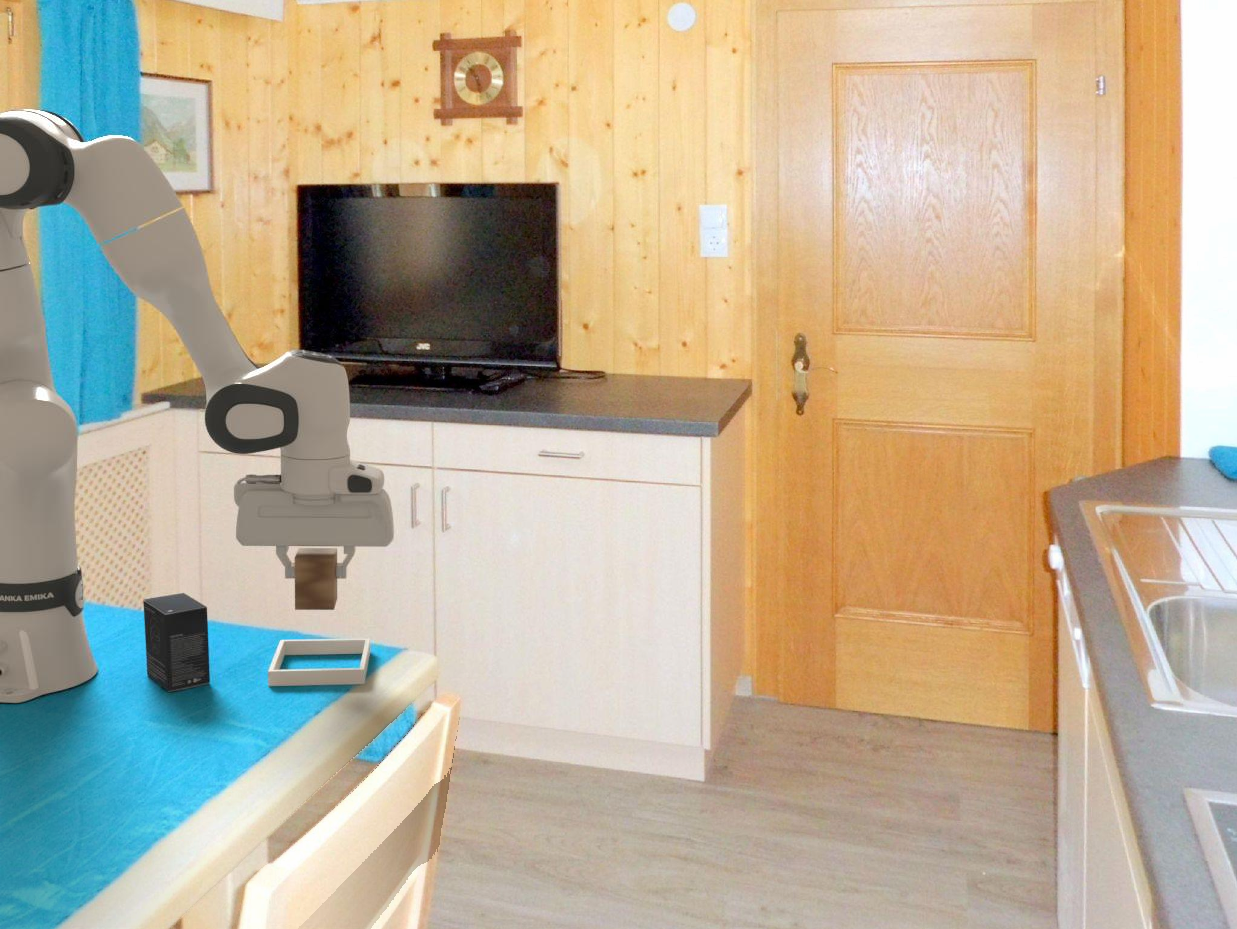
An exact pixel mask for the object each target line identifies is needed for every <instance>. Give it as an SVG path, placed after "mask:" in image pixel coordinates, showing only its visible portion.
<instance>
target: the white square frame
mask: <svg viewBox="0 0 1237 929" xmlns="http://www.w3.org/2000/svg"><path fill="white" fill-rule="evenodd" d="M354 654H355V655H356V654H357V655H361V654H362V655H361V660H360V665H359V667H350V668H348V667H347V668H343V667H342V668H300V669H298V668H295V669H293V668H291V669H288V668H287V669H281V666H282V663H283V661H284V658H285V656H298V655H299V656H306V655H309V656H311V655H354ZM370 656H371V637H370V638H369V637H367V638H366V637H365V638H363V637H362V638H318V639H317V638H316V639H311V638H310V639H305V638H303V639H280V640H279V643H278V645H277V648H276V650H275V652H274V655H273V657H272V660H271V663H270V666H269V668H268V670H267V677H268V678H267V679H268V681H267V684H268V687H289V686H290V687H292V686H296V687H299V686H326V685H327V686H331V685H332V686H333V685H334V686H337V685H338V686H339V685H343V686H344V685H365V683H366V677H367V672H368V666H369V661H370Z"/></svg>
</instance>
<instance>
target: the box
mask: <svg viewBox="0 0 1237 929" xmlns="http://www.w3.org/2000/svg"><path fill="white" fill-rule="evenodd" d="M143 619H144V636H145V637H144V638H145V655H146V674H147V676H148V677H149V678H151V679H152V680H153V681H154V682H156V683H157V684H158V685H159V686H161V687H162V688H163V689H165V690H166V691H167V692H170V693H171V692H175V691H176V692H177V691H181V690H187V689H191V688H197V687H201V686H206V685H209V684H210V683H211V676H210V675H211V672H210V648H209V627H208V626H209V624H208V623H209V622H208V606H206V605H204V604H203V603H201V602H199V601H198V600H197V599H195V598H193V597H191V596H190V595H188V594H186V593H184V592H181V593H176V594H170V595H169V594H168V595H164V596H162V595H161V596H157V597H156V596H155V597H150V598H145V599H143Z"/></svg>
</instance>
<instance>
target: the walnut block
mask: <svg viewBox="0 0 1237 929" xmlns="http://www.w3.org/2000/svg"><path fill="white" fill-rule="evenodd" d="M294 563H295V578H294V610H295V611H297V610H298V611H301V610H302V611H303V610H305V611H312V610H313V611H318V610H319V611H328V610H329V611H333V610H335V608H336V604H337V601H338V579H335V573H336V572H335V565H336V563H338V548H337V547H332V548H331V547H329V548H328V547H319V548H318V547H298V550H297V551H296V554H295V556H294Z"/></svg>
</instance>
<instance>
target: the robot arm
mask: <svg viewBox="0 0 1237 929" xmlns="http://www.w3.org/2000/svg"><path fill="white" fill-rule="evenodd" d="M62 203H63V204H66V205H69V207H72V208H73V209H75V210H76V212H78V214H79V215H80V216H81V217H82V219H83V221H84V222H85V223H86V225H87V226H88V228H89V230H90V232H91V234H92V235H93V237H94V239H95V241H96V244H97V245H98V246H99V245H100V246H99V248H100V250H101V252H102V254H103V256H104V257H105V259H106V261H107V262H108V264H109V265H110V266H111V268H112V269H113V271H114V272H115V273H116V274H117V276H118V277H119V278H120V280H121V281H122V282H123V283H124V284H125V286H126V287H127V288H128V289H129V291H130V292H131V293H132V294H134V295H135V296H136V297H138V298H140V299H141V300H143V301H145V302H146V303H147V304H150V305H151V306H152V307H153V308H155V309H156V310H157V311H159V312H160V313H161V314H162V315H163V316H164V317H165V318H166V319H167V321H168V322H169V324H171V326H172V327H173V329H174V330H175V331H176V334H177V335H178V337H179V339H180V340H181V342H182V344H183V345H184V347H185V349H186V351H187V352H188V354H189V357H191V360H192V362H193V363H194V365H195V367H196V369H197V370H198V372H199V373H200V374H199V375H200V377H201V378H202V381H203V386H204V395H205V396H204V397H205V398H204V400H205V409H204V424H205V428H206V431H207V433H208V435H209V438H211V440H212V441H213V442H214V443H215V444H216V445H217V446H218V447H220V448H221V449H223V450H225V451H227V452H230V453H232V454H237V455H250V454H255V453H261V452H266V451H273V450H276V449H280V474H263V475H262V474H261V475H257V474H252V473H251V474H246V475H245V477H242V478H240V479H238V480H237V481H236V483H235V484H234V486H233V497H234V498H233V500H234V503H235V504H236V506H237V507H238V508H237V516H236V528H235V539H236V541H237V542H239V544H240V545H241V546H243V547H275V554H276V556H277V558H278V560H279V561H280V563H281V564H282V565H283V567H284V578H285V579H289V580H290V579H295V562H292V560H291V559H290V558H289V556H288V554H287V553H288V552H289V548H290V547H343V554H344V555H345V556H344V558H343V560H342V562H337V563H336V565H335V572H336V573H335V579H337V580H339V579H340V580H342V579H347V577H348V566H349V564H350V563H351V561H352V559H353V558H354V556H355V553H356V547H371V548H373V547H375V548H377V547H381V548H382V547H383V548H386V547H388V546H389V545H390V544H392V542H393V540H394V537H395V536H394V535H395V526H394V524H395V523H394V515H393V509H392V503H391V497H390V495H389V493H388V492H387V491H386V490H385V489H384V486H385V474H384V472H383V470H382V469H380V468H377V467H376V466H375V467H374V466H371V465H368V464H365V463H362V462H358V461H355V460H353V459H351V448H350V445H349V441H348V429H349V426H350V421H351V403H350V402H351V400H350V399H351V398H350V387H349V386H350V385H349V380H348V379H349V378H348V374H347V371H346V368H345V367H344V365H343V364H342V363H341V362H340V361H339V360H338V359H336V358H335V357H333V356H331V355H328V354H325V353H322V352H318V351H312V350H307V349H306V350H305V349H291V350H289V351H286V352H285V353H284V354H283V355H282V356H281V357H280V358H278V359H275V361H273V362H271V363H269V364H267V365H265V366H263V367H260V366H259V365H258V364H256V363H255V362H254V361H252V360H251V359H250V358H249V357H248V355H247V354H246V352H245V351H244V349H243V348H242V346H241V344H240V342H239V341H238V339H237V337H236V335H235V334H234V331H233V330H232V328H231V327H230V324H229V322H228V321H227V319H226V317H225V316H224V313H223V312H222V310H221V309H220V307H219V305H218V303H217V300H216V298H215V296H214V293H213V290H212V289H213V288H212V286H211V283H210V278H209V272H208V269H207V268H208V267H207V264H206V263H207V262H206V259H205V256H204V252H203V249H202V246H201V243H200V239H199V237H198V236H197V232H196V230H195V228H194V225H193V223H192V221H191V218H190V216H189V215H188V213H187V211H186V209H185V208H184V206H183V203H182V201H181V200H180V197H178V194H177V193H176V192H175V190H174V188H173V187H172V185H171V183H170V181H169V180H168V178H167V177H166V176H165V174H164V173H163V171H162V170H161V169H160V167H159V166H158V164H157V163H156V162H155V160H154V159H153V157H152V156H151V155H150V154H149V153H148V151H147V150H146V149H145V148H144V147H143V146H142V144H141V143H140V142H138V141H137V140H135V139H133V138H131V137H130V136H129V137H128V136H123V135H107V136H103V137H99V138H96V139H94V140H92V141H87V142H86V141H85V139H84V136H83V134H81V132H80V131H79V130H78V128H77V127H76V125H74V124H73V123H72V122H71V121H69V120H68V119H67V118H65V117H63V116H61V115H60V114H57V113H55V112H53V111H48V110H44V109H23V108H22V109H20V108H18V109H11V110H8V111H7V110H6V111H4V112H2V113H0V703H7V704H8V703H9V704H11V703H12V704H18V703H25V702H27V701H30V700H32V699H35V698H38V697H41V696H42V695H46V694H50V693H55V692H58V691H59V692H60V691H63V690H67V689H69V688H73V687H76V686H79V685H81V684H83V683H85V682H87V681H89V680H90V679H92V678H93V677H94V676H95V675H96V674H97V673H98V670H99V668H98V665H97V662H96V660H95V657H94V654H93V652H92V649H91V646H90V641H89V638H88V633H87V630H86V624H85V618H84V611H83V610H84V607H85V583H84V580H83V573H82V567H80V565H78V563H79V562H78V548H77V547H78V546H77V531H76V515H75V514H76V512H75V510H76V508H75V504H76V502H75V501H76V492H77V490H76V489H77V478H78V477H77V476H78V475H77V474H78V473H77V472H78V438H79V432H78V431H79V430H78V423H77V419H76V416H75V413H74V412H73V409H72V407H70V405H69V404H68V403H67V402H66V400H64V399H63V398H62V397H61V396H60V395H59V394H58V393H57V391H56V388H55V384H54V378H53V374H52V368H51V363H50V361H51V360H50V356H49V349H48V342H47V333H46V331H47V330H46V329H47V326H46V322H45V321H46V320H45V318H44V313H43V310H42V306H41V302H40V297H39V295H38V290H37V286H36V282H35V276H34V273H33V270H32V266H31V265H32V264H31V262H30V258H29V253H28V250H27V249H28V248H27V247H26V243H25V237H24V227H23V226H24V225H23V224H24V219H25V217H26V214H27V212H28V211H29V210H35V209H37V208H39V207H49V206H57V205H60V204H62ZM156 219H157V220H156ZM145 224H146V225H145ZM143 225H144V226H143ZM140 226H141V227H140ZM130 231H131V232H130ZM121 235H122V236H121ZM110 240H111V241H110ZM103 243H104V244H103Z"/></svg>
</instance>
